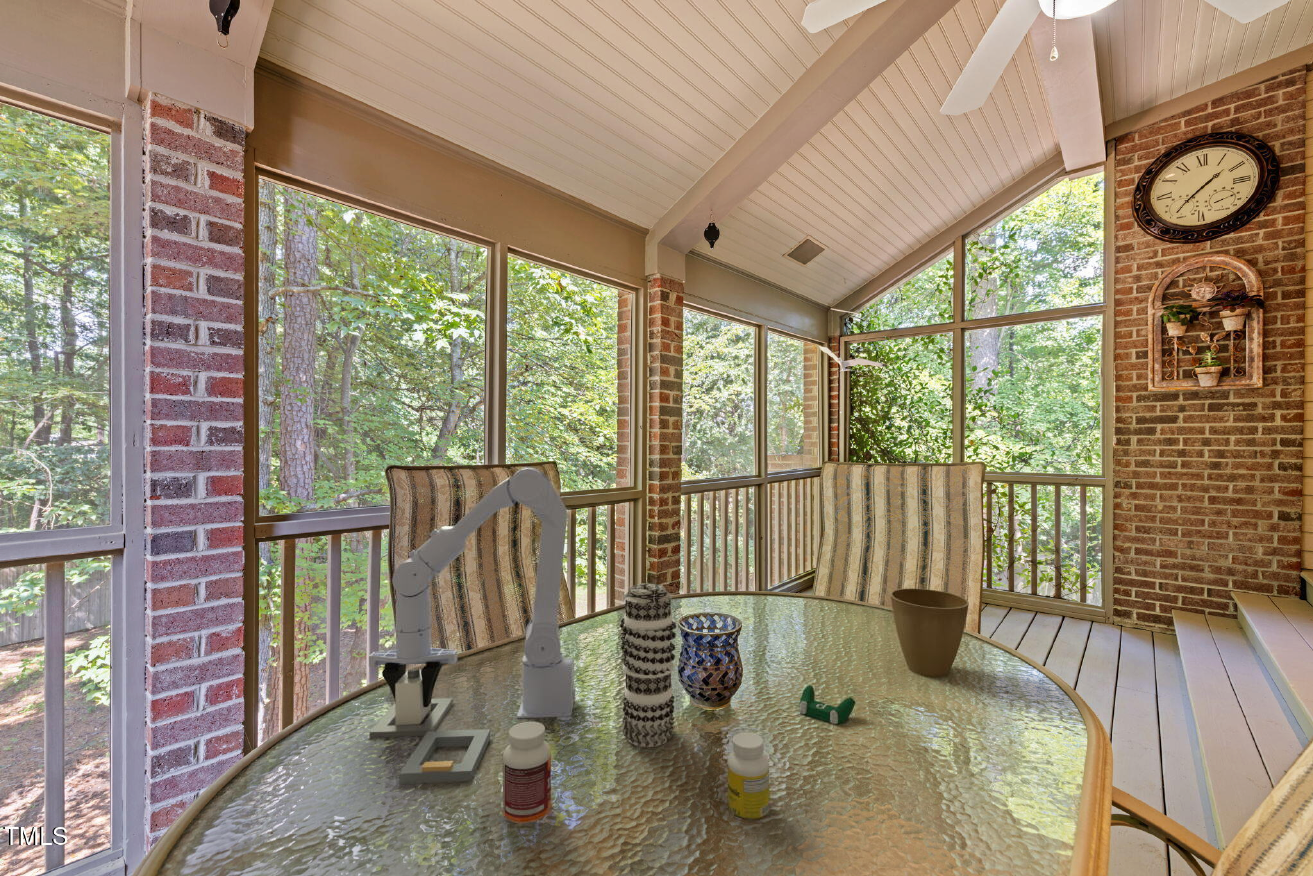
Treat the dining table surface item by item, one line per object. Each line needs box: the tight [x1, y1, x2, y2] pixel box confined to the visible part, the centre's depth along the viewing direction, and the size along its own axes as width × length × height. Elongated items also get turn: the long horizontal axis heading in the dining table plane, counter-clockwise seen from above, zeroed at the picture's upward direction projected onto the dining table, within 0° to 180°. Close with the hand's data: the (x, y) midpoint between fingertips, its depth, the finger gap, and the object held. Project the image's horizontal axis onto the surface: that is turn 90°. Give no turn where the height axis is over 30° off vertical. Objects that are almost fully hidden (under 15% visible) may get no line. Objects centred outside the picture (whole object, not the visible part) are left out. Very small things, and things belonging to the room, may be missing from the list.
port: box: [398, 728, 491, 785], centre depth 88 cm, size 10×12×3 cm
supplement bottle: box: [727, 731, 771, 821], centre depth 76 cm, size 5×5×10 cm
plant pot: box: [890, 587, 970, 678], centre depth 122 cm, size 15×15×16 cm
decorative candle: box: [619, 582, 677, 748], centre depth 95 cm, size 9×9×25 cm
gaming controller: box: [798, 685, 856, 726], centre depth 102 cm, size 9×4×6 cm
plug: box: [394, 667, 432, 726], centre depth 102 cm, size 4×6×8 cm, turn 4°
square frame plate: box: [369, 697, 454, 739], centre depth 102 cm, size 10×12×1 cm
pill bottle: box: [502, 721, 552, 824], centre depth 76 cm, size 6×6×11 cm
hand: (413, 705), depth 102 cm, fingers closed on plug, 4 cm apart
